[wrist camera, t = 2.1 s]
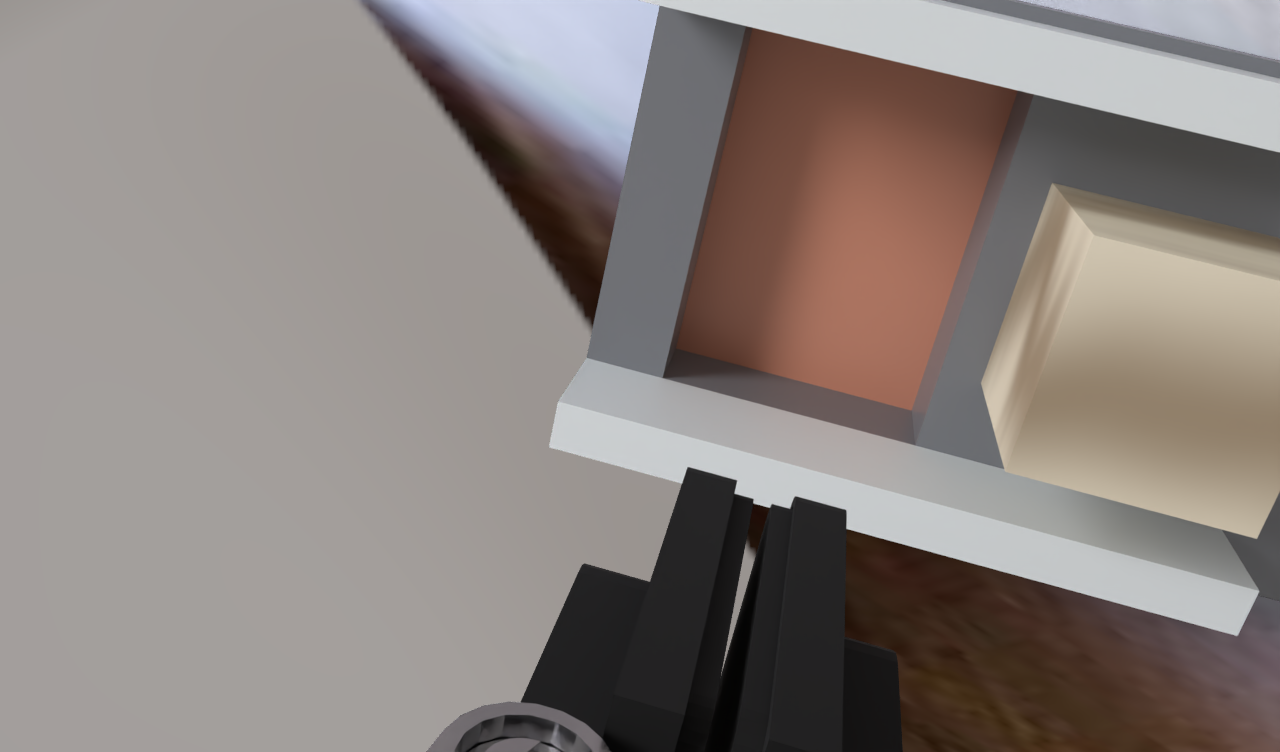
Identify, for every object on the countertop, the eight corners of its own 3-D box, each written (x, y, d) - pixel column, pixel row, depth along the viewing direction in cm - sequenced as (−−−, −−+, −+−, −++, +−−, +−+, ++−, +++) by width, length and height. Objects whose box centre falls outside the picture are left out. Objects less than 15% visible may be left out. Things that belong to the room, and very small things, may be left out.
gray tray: (595, 376, 32) (546, 458, 27) (692, -75, 28) (654, -79, 22) (1399, 591, 30) (1508, 723, 25) (1645, 144, 26) (1839, 195, 21)
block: (1052, 182, 26) (1094, 235, 21) (1277, 237, 25) (1370, 303, 21) (980, 383, 28) (1005, 471, 23) (1190, 437, 27) (1256, 538, 23)
